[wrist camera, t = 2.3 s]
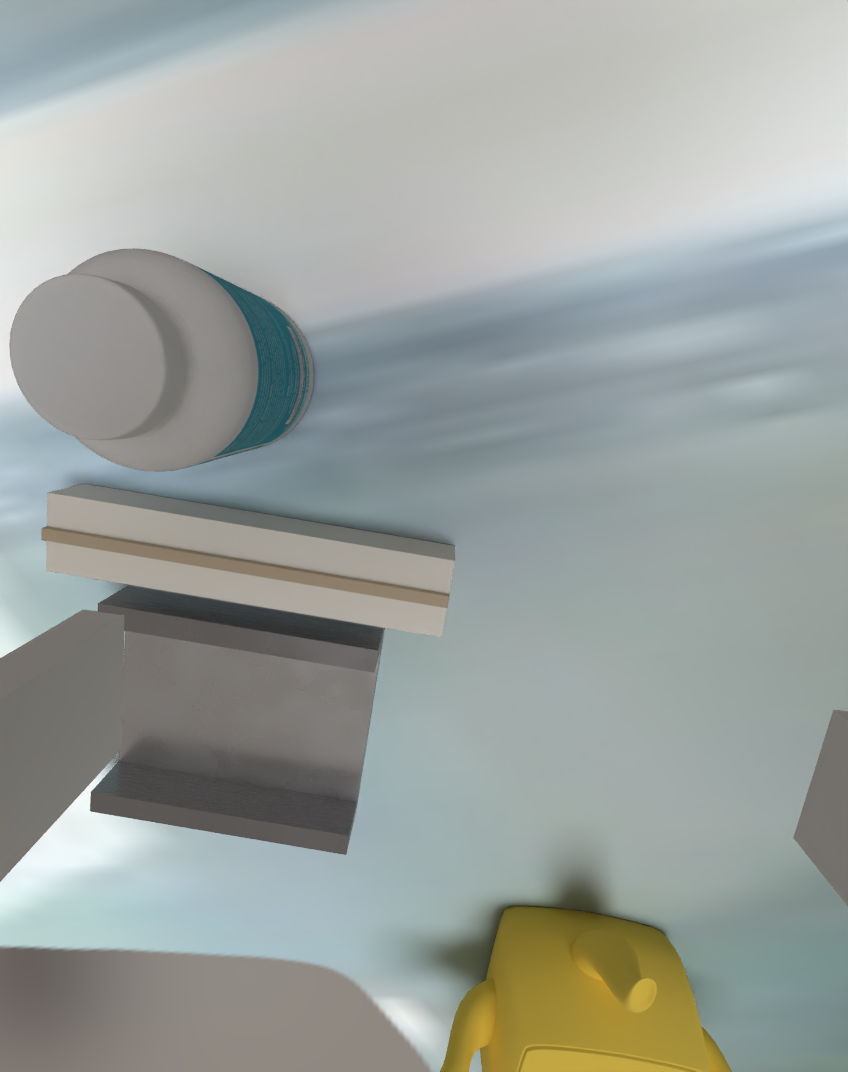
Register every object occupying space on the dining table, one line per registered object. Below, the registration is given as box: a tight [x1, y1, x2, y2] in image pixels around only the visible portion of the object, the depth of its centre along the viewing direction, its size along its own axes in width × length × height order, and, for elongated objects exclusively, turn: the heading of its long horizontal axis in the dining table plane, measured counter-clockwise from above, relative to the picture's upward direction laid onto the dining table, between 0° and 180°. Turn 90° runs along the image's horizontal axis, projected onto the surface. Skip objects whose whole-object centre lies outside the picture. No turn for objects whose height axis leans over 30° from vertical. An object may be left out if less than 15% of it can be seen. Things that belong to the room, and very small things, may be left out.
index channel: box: [90, 585, 385, 855], centre depth 33 cm, size 12×14×4 cm
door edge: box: [42, 484, 455, 637], centre depth 31 cm, size 4×20×3 cm, turn 81°
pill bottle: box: [10, 249, 314, 472], centre depth 24 cm, size 8×7×14 cm
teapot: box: [440, 906, 732, 1072], centre depth 33 cm, size 15×14×10 cm
